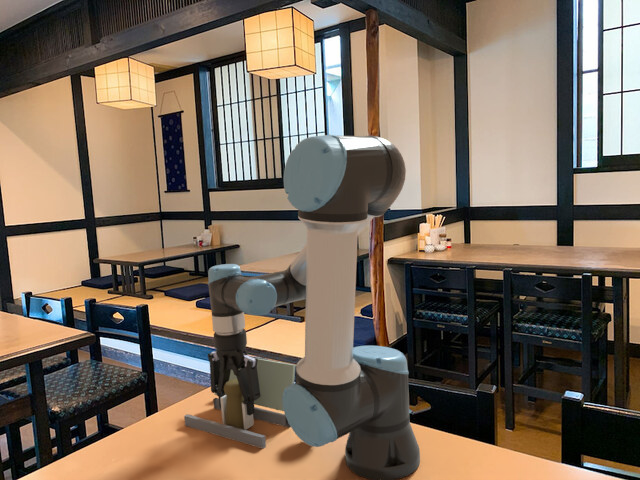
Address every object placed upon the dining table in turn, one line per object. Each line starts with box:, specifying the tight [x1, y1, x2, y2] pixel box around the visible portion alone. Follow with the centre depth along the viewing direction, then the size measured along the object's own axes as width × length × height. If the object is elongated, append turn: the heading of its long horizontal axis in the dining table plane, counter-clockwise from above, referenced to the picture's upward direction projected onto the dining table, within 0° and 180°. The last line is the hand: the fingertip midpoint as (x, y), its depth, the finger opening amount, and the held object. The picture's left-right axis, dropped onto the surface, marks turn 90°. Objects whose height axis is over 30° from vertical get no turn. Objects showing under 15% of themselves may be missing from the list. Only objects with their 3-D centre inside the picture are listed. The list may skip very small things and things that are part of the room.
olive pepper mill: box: [224, 379, 245, 430], centre depth 118 cm, size 6×6×11 cm
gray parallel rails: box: [183, 397, 291, 449], centre depth 119 cm, size 24×11×2 cm, turn 59°
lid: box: [213, 356, 296, 412], centre depth 124 cm, size 24×11×1 cm
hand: (238, 423), depth 119 cm, fingers closed on olive pepper mill, 6 cm apart
